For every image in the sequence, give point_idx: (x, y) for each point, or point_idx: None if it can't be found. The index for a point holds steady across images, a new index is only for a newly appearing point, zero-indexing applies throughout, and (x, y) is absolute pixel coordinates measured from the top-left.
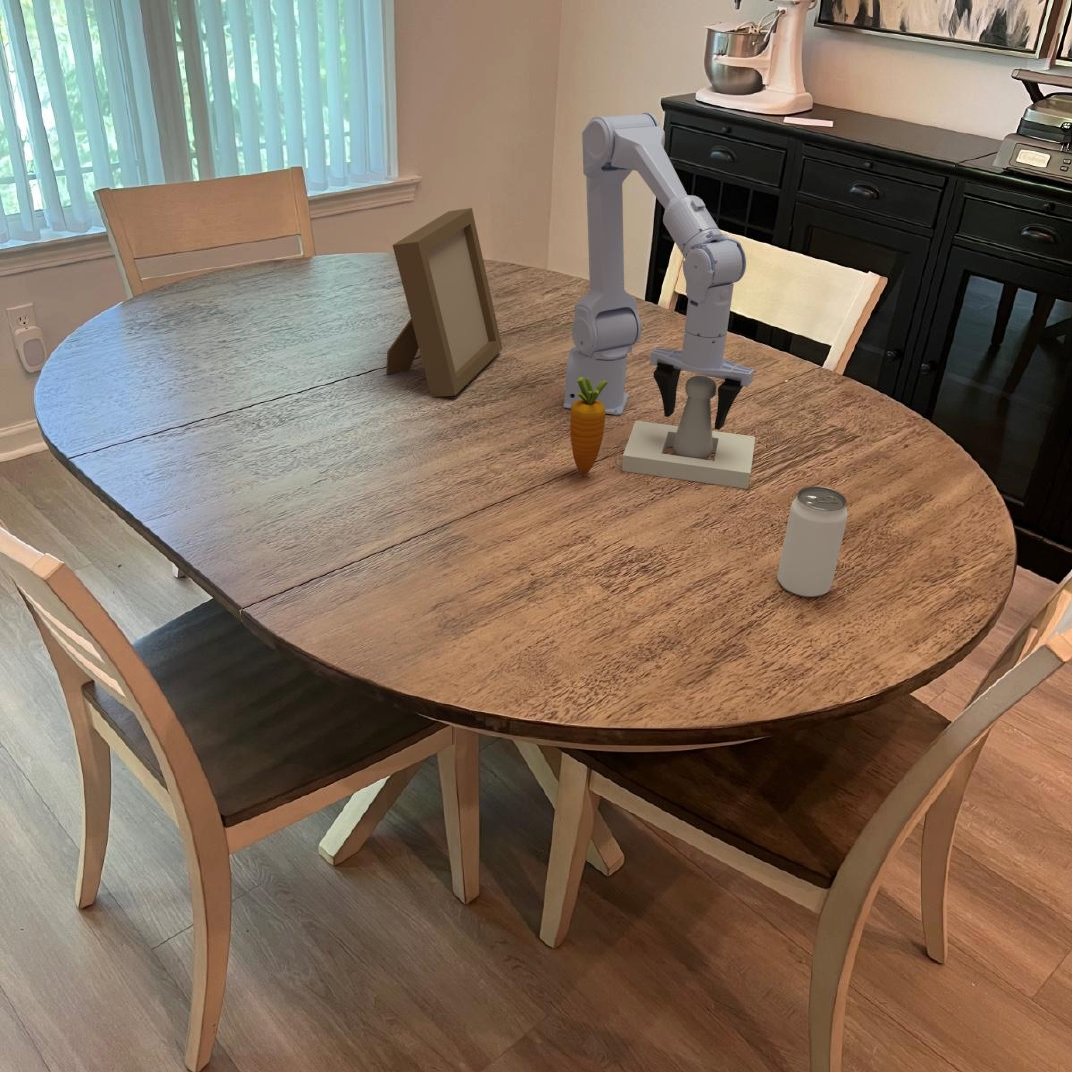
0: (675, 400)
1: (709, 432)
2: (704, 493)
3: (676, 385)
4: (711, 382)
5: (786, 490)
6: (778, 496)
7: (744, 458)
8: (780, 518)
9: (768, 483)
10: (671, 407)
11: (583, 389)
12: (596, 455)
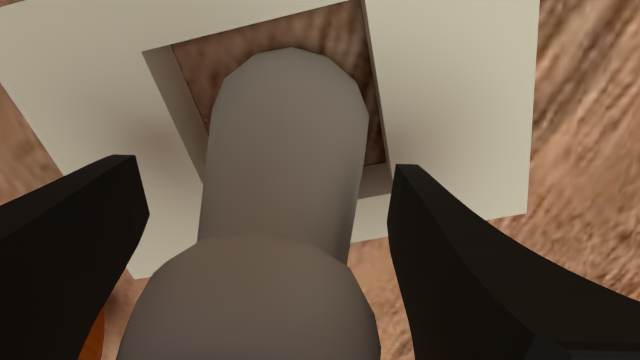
0: (98, 180)
1: (358, 190)
2: (389, 247)
3: (26, 246)
4: None
5: (627, 133)
6: (595, 177)
7: (500, 126)
8: (589, 267)
9: (569, 118)
10: (125, 219)
11: None
12: (97, 353)
